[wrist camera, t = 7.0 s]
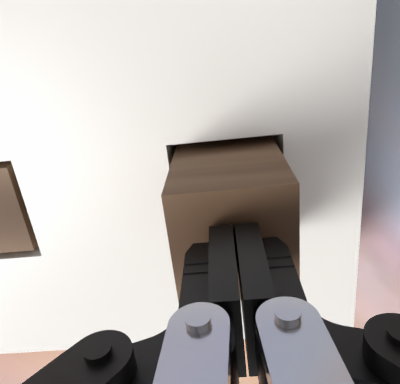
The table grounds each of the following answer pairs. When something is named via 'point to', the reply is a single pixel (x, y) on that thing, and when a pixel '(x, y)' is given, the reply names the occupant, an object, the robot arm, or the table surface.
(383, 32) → the table surface
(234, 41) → the housing
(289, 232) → the peg
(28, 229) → the peg
